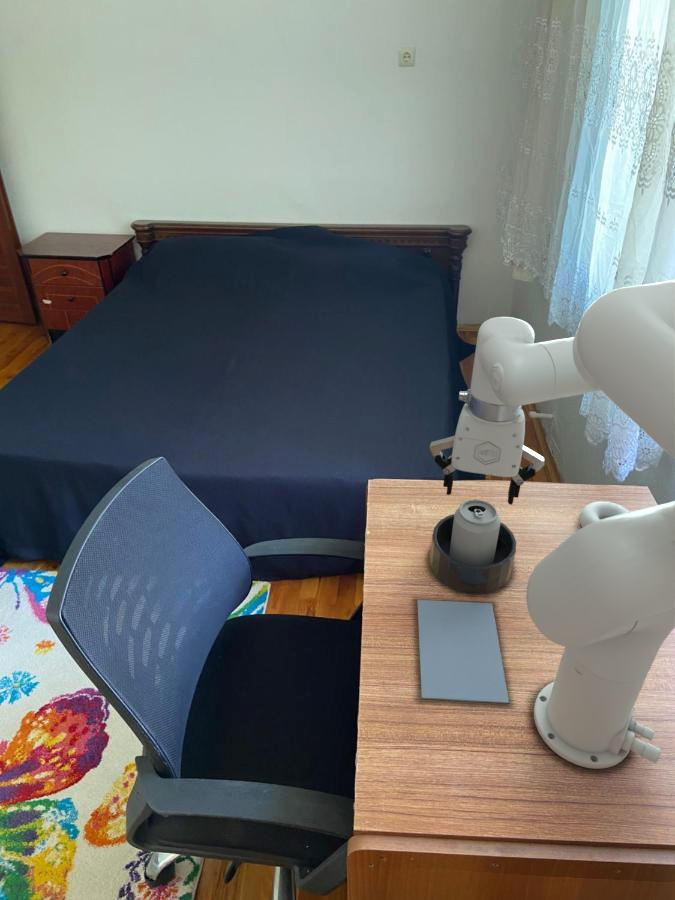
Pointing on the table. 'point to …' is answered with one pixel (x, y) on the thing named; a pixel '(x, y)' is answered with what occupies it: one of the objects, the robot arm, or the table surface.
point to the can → (475, 533)
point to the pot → (469, 575)
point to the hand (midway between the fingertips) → (479, 494)
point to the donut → (599, 512)
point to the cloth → (460, 652)
